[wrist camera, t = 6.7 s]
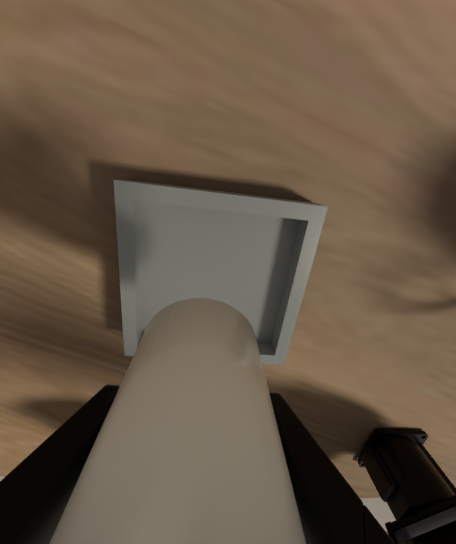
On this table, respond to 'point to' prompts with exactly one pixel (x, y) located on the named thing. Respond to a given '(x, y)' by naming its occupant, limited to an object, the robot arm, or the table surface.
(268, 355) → the tray
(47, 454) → the robot arm
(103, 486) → the cylinder
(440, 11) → the table surface
